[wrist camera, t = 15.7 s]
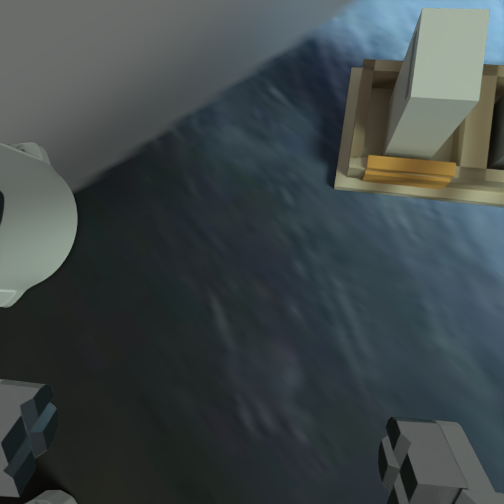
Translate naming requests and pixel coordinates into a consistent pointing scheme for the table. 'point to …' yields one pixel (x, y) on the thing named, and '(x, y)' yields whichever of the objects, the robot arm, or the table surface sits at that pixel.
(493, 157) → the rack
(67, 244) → the robot arm
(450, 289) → the table surface
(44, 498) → the white cup
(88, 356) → the table surface
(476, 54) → the white carton
